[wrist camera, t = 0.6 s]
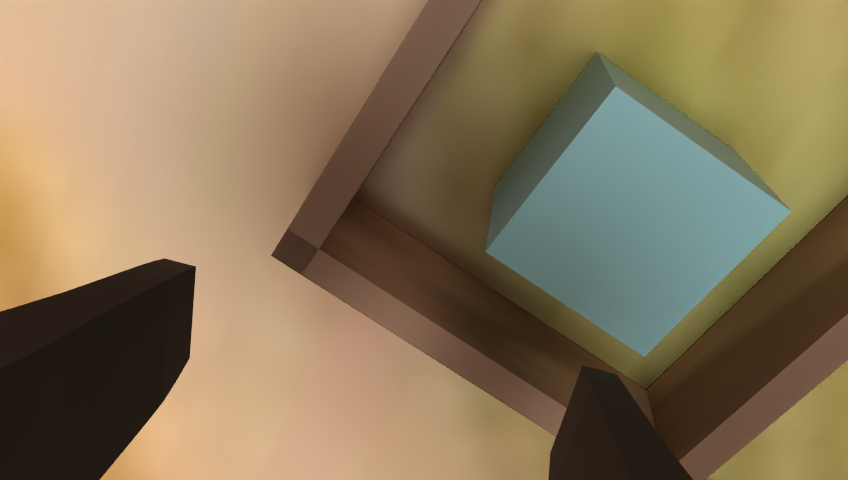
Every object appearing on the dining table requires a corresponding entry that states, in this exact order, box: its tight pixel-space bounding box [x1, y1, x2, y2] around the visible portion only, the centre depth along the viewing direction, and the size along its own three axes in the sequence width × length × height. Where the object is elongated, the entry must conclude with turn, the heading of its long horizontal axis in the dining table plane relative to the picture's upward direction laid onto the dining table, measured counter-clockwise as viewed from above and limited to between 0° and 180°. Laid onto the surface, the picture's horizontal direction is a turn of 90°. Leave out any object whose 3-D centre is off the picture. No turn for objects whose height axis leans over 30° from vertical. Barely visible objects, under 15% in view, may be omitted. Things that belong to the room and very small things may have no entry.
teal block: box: [485, 52, 791, 357], centre depth 19 cm, size 5×5×5 cm
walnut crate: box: [271, 0, 848, 480], centre depth 19 cm, size 14×14×4 cm
